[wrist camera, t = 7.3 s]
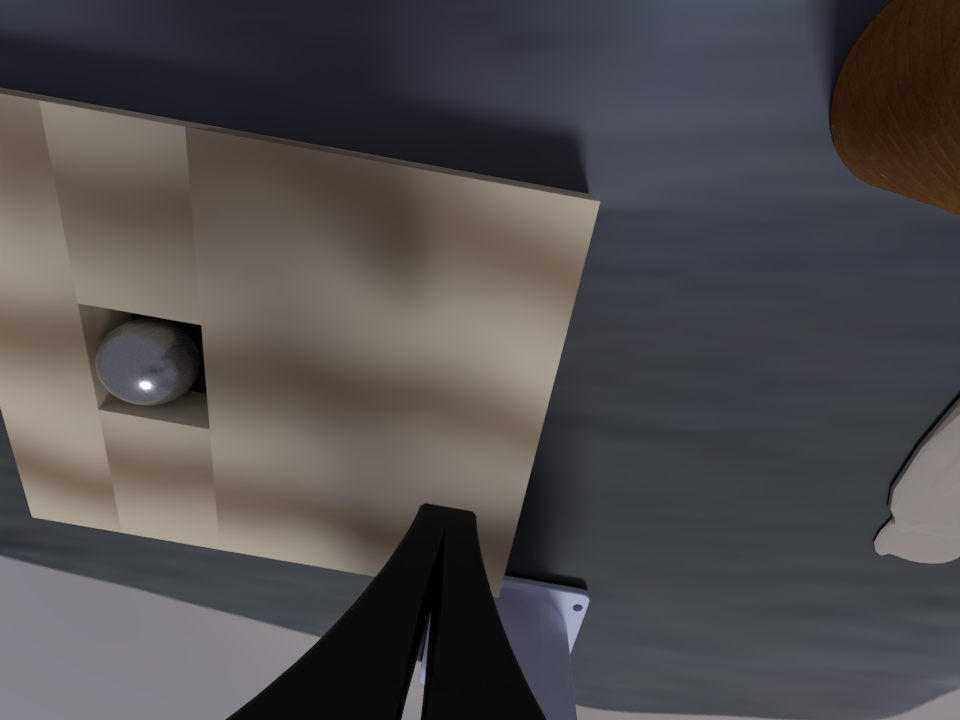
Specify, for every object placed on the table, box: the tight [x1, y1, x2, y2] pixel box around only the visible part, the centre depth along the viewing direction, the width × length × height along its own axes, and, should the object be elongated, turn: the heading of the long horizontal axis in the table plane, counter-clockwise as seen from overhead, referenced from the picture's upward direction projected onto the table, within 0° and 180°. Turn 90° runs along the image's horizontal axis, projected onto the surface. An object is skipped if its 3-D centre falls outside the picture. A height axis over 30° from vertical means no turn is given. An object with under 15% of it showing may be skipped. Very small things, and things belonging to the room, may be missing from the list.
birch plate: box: [0, 88, 600, 598], centre depth 20 cm, size 18×22×2 cm
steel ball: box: [95, 319, 200, 406], centre depth 20 cm, size 4×4×4 cm
